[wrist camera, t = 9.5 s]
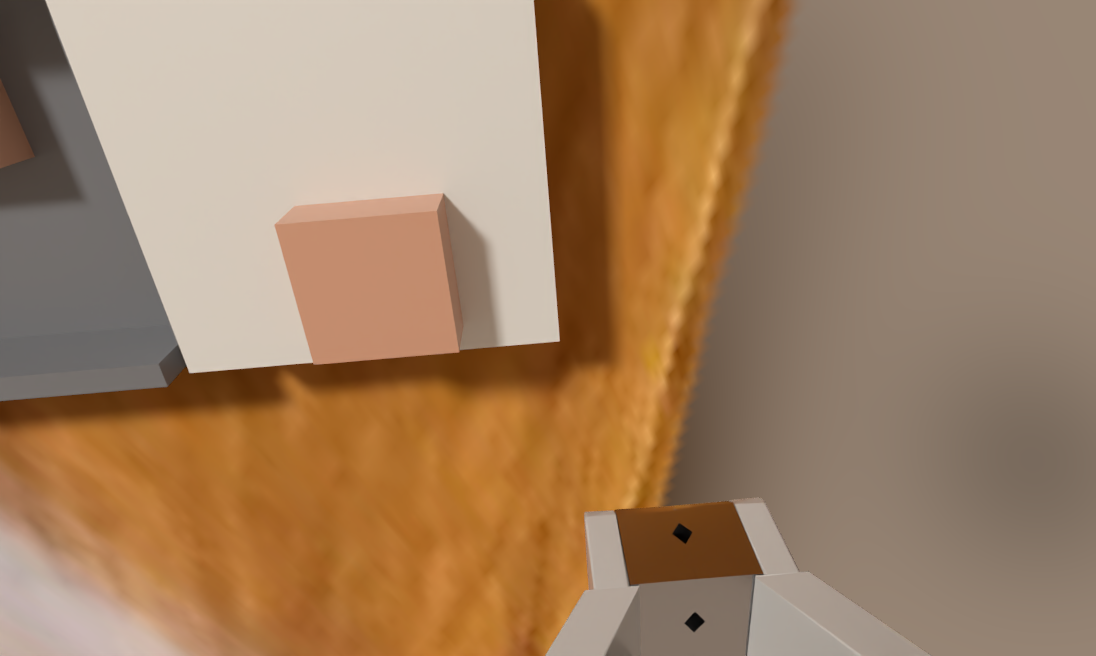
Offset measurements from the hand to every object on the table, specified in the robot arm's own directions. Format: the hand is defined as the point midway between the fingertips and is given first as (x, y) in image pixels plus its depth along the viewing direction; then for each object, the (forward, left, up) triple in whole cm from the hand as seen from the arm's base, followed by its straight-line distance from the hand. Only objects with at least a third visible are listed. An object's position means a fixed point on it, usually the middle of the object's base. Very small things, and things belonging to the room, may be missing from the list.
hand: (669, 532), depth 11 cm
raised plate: (-4, -8, -17) cm, 20 cm away
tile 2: (0, -7, -13) cm, 15 cm away
